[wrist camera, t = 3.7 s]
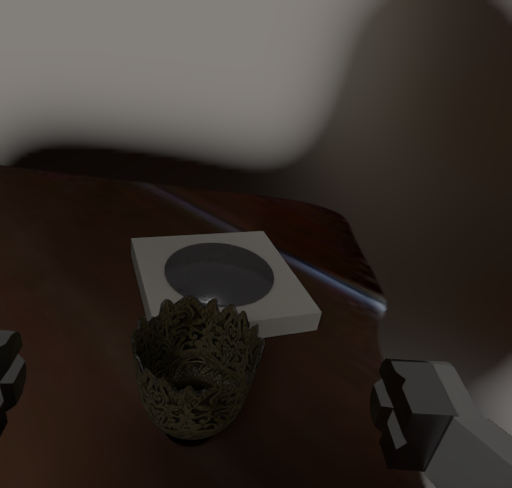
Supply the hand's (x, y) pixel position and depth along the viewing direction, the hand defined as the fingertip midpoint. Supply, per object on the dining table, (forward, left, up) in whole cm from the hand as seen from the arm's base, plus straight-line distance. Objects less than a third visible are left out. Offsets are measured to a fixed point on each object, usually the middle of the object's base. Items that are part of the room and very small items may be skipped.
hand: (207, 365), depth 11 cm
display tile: (-26, +10, -18) cm, 33 cm away
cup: (-12, +4, -18) cm, 22 cm away
